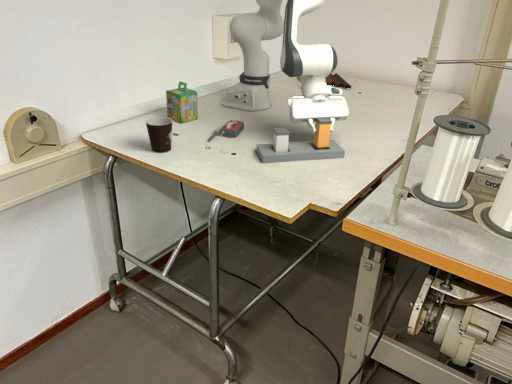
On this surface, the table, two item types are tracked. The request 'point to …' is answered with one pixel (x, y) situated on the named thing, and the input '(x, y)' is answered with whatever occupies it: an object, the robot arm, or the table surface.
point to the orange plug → (322, 132)
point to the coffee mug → (160, 133)
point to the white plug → (280, 140)
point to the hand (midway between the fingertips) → (323, 132)
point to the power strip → (299, 152)
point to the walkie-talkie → (229, 129)
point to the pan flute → (336, 81)
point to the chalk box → (182, 104)
